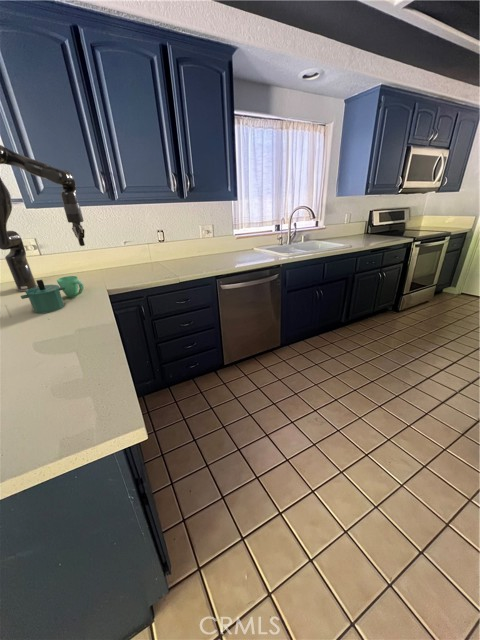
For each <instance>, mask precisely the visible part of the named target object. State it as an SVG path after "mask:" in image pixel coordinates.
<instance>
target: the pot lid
mask: <svg viewBox="0 0 480 640" xmlns="http://www.w3.org/2000/svg"><path fill="white" fill-rule="evenodd" d="M36 283H37V284H36V285H37V287H34V288H31V289H28V290H27V291H24V293H25V295H41V294H46V293H50V292H53V291H56V290H58V289H59V287H60V286H59V284H45V283H44V281H43V279H37V280H36Z"/></svg>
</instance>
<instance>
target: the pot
mask: <svg viewBox="0 0 480 640" xmlns="http://www.w3.org/2000/svg"><path fill="white" fill-rule="evenodd" d="M62 290H65V287H60V286H59V289H58V290H56V291H53V292H50V293H46V294H41V295H27V294H22V295H20V298H21V300H25V299H28V300H29V302H30V306H31V308H32V310H33V312H34V313H36V314H47V313H48V314H49V313H53V312H56V311H58V310H60V309H62V308H64V307H65V303H64V300H63V297H62V294H61V291H62Z"/></svg>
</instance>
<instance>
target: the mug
mask: <svg viewBox="0 0 480 640" xmlns="http://www.w3.org/2000/svg"><path fill="white" fill-rule="evenodd" d="M56 283H57V285H58V286H59V287H65V290H61V291H62V292H63V293H64V294H65V296H66V297H67V298H75V297H78V296H79V295H81V294H82V292H83V291H84V288H85V287H84V283H83V282H82V281H81V280H79V277H78V276H76V275H68V276H67V275H66V276H62V277H59V278H57V279H56Z"/></svg>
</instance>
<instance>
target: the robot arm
mask: <svg viewBox="0 0 480 640" xmlns="http://www.w3.org/2000/svg"><path fill="white" fill-rule="evenodd" d="M0 165H8V166H13V167H15V168H19V169H21V170H22V171H24V172H26V173H28V174H31V175H33V176H35V177H37V178H41V179H45V180H47V181H49V182H52V183H53V184H56V185H59V186H61V187H62V191H61V192H60V197H61V201H62V204H63V210H64V214H65V216H66V220H67V223H71V225H72V227H71V230H72V232H73V234H74V236H75V238H77V239H76V240H78V244H79V246H80V247H84V246H85V245H86V244H85V240H84V239H85V229H84V228H83V225H82V224H81V223H84V217H83V213H82V208H81V206H80V203H79V200H78V196H77V183H76V179H75V176H74V174H73V173H72V172H70V170H65V169H59V168H56V167H53V166H51V165H49V164H47V163H45V162H42V161H39V160H36V159H33V158H31V157H27V156H24V155H22V154H20V153H17V152H15V151H14V150H11V149H9V148H8V147H5V146H3V145H1V144H0ZM12 211H13V202H12V196H11V193H10V191H9V190H8V188H7V186H6V185H5V183H4V181H3V180H2V178H1V176H0V250H1V251H6V250H9V252H8V254H6V255H5V257H4V259H5V261H6V264H7V266H8V268H9V269H8V270H9V272H10V273H11V276H12V279H13V281H14V283H15V286H16V288H17V291H18V292H26V291H27V290H28V289H31V288H34V287H38V284H36V283H37V282H36V280H35V278H34V275H33V273H32V269H31V266H30V265H29V262H28V259H27V251H26V248H25V245H24V242H23V239H22V237H21V236H20V234H19V233H18V232H17V231H16V230H15V231H14V230H8V227H7V225H8V221H9V218H10V217H11V213H12Z"/></svg>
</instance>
